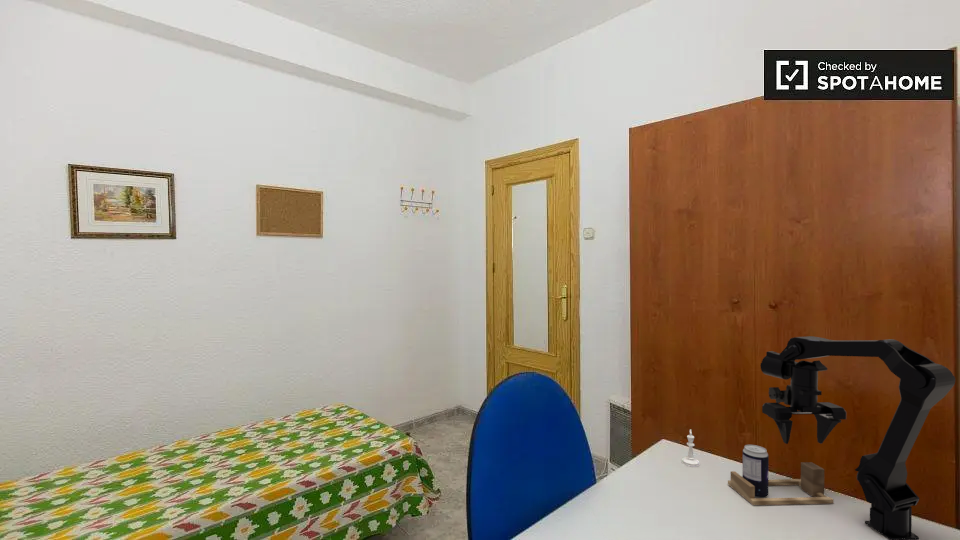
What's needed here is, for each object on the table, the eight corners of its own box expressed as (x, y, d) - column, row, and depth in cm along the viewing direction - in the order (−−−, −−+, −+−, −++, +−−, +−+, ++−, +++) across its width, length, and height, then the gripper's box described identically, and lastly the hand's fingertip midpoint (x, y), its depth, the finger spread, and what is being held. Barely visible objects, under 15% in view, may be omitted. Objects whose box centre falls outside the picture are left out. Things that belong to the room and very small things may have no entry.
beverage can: (772, 501, 110) (772, 454, 110) (747, 499, 111) (747, 452, 111) (762, 490, 116) (763, 444, 115) (739, 488, 117) (739, 443, 117)
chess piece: (682, 465, 130) (682, 431, 130) (680, 458, 135) (680, 426, 135) (701, 467, 129) (701, 433, 128) (698, 460, 133) (698, 427, 133)
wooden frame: (802, 482, 119) (802, 457, 119) (834, 503, 109) (834, 475, 109) (727, 484, 118) (727, 458, 118) (753, 505, 108) (753, 476, 108)
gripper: (814, 376, 124) (813, 430, 124) (749, 376, 123) (748, 431, 124) (848, 387, 113) (847, 447, 113) (777, 387, 112) (776, 448, 112)
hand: (802, 443), depth 116 cm, fingers open, 9 cm apart
